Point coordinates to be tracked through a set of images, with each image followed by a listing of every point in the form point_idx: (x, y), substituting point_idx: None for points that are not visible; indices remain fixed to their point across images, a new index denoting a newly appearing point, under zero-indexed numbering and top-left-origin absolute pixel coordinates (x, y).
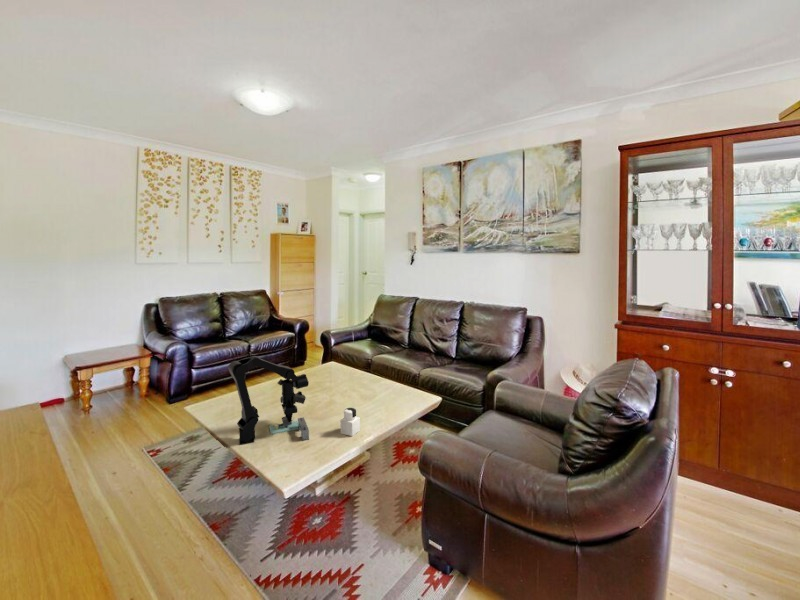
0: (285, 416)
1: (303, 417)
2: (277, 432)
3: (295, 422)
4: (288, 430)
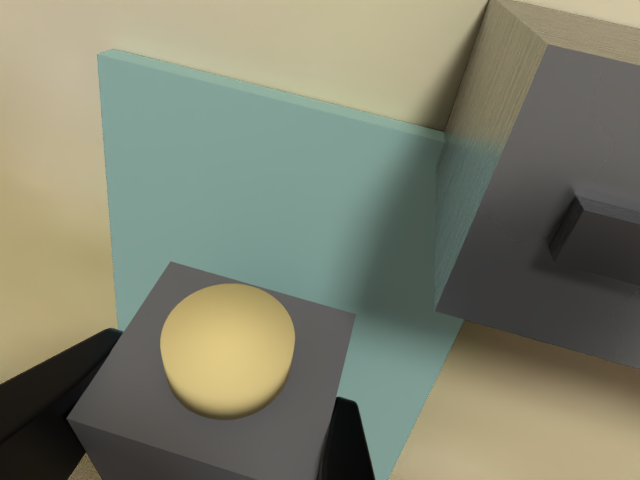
0: (105, 468)
1: (555, 57)
2: (389, 471)
3: (178, 120)
4: (442, 354)
